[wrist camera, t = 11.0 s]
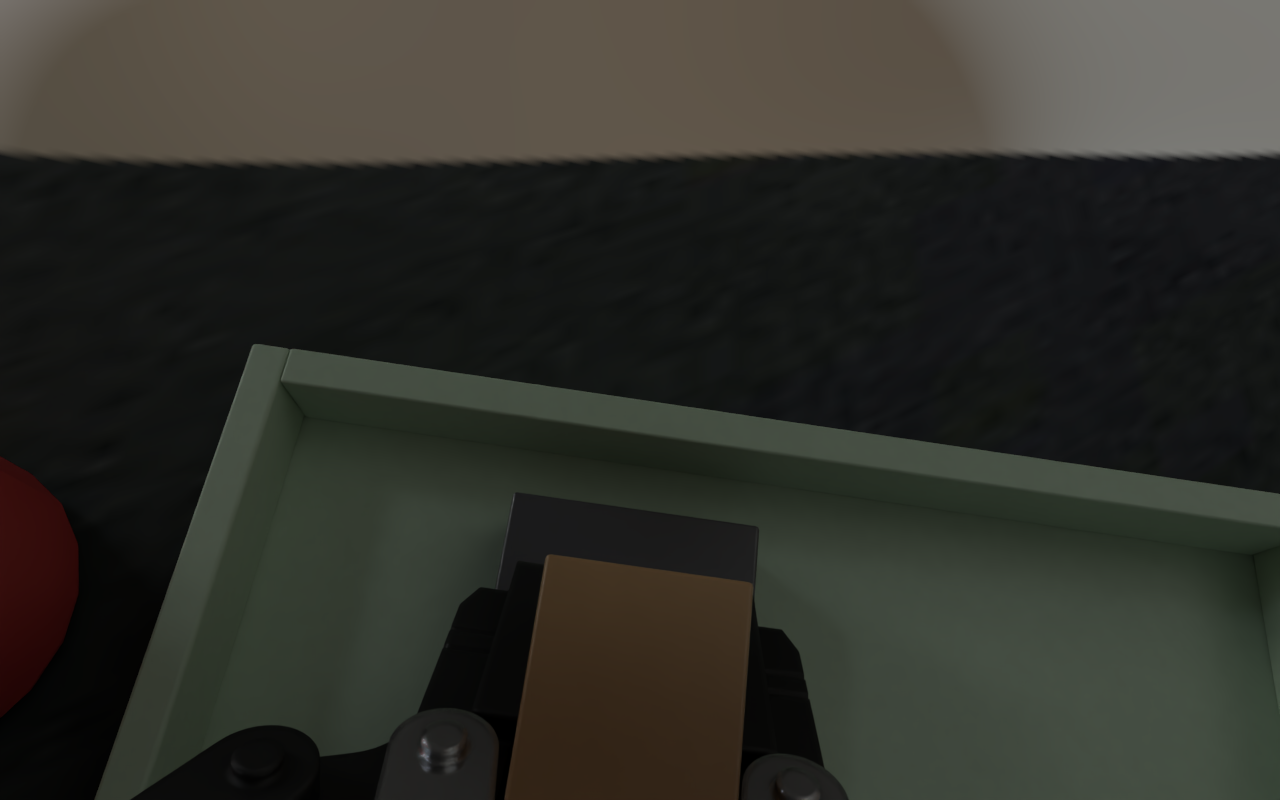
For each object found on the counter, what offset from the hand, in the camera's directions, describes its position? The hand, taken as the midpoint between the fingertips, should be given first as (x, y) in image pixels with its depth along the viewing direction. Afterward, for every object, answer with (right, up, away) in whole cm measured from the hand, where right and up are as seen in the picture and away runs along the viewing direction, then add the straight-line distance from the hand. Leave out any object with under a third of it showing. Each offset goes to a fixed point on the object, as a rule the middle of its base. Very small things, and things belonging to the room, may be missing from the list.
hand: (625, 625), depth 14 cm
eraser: (-1, -4, +3) cm, 5 cm away
